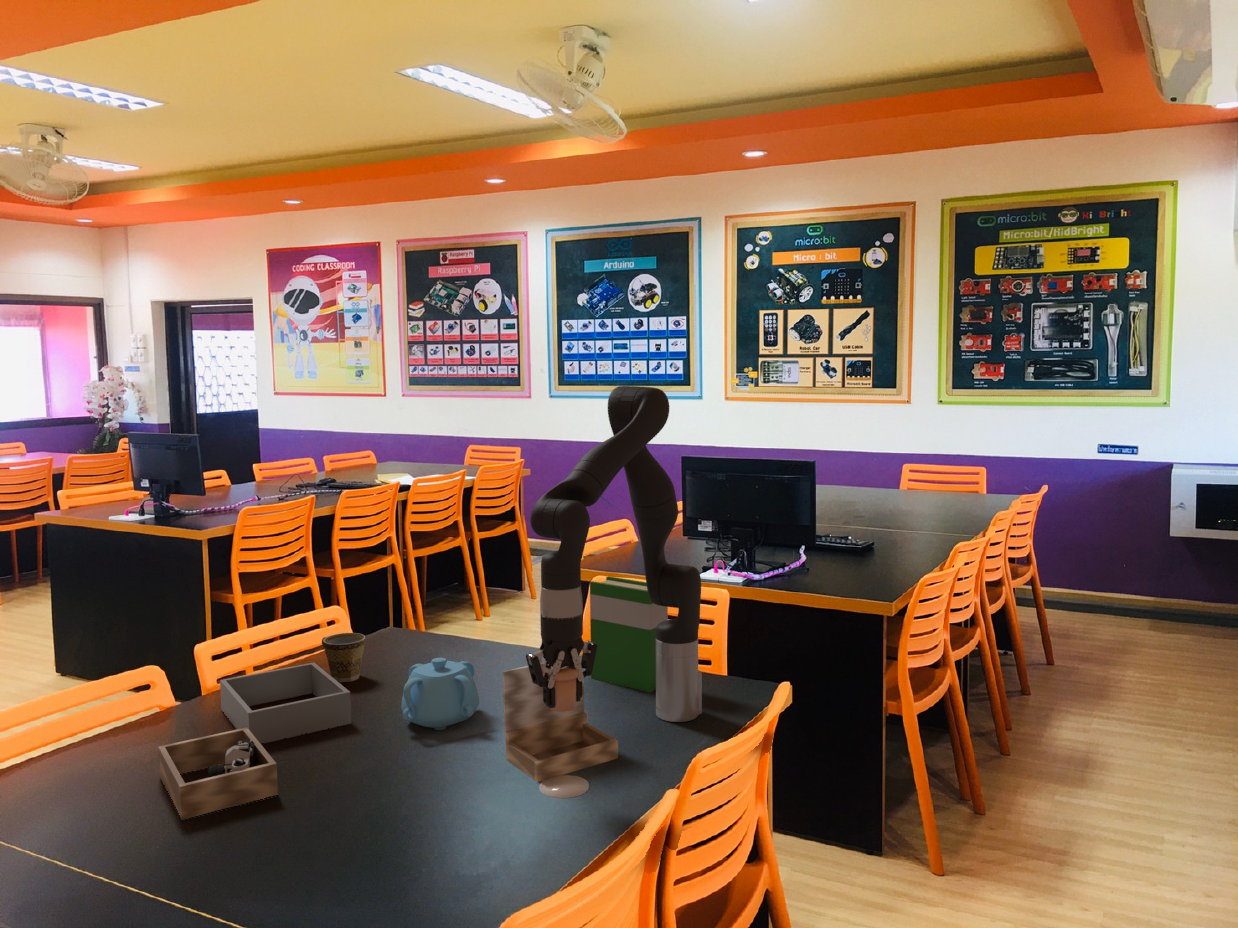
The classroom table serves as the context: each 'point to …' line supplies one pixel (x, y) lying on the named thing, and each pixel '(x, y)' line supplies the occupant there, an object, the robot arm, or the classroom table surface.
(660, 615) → the hardback book
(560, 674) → the pot
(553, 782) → the saucer
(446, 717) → the decorative pot
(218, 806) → the camera cubby
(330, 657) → the ceramic cup
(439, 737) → the classroom table surface
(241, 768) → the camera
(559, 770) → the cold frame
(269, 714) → the tray
